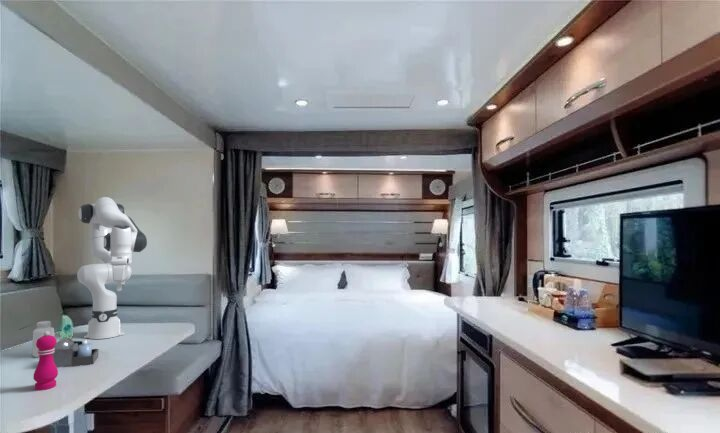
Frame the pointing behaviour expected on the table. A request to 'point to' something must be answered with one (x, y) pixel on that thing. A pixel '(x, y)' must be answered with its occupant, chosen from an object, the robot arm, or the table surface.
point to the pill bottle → (41, 334)
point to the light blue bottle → (84, 349)
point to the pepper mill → (45, 363)
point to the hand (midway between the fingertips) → (120, 289)
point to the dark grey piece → (71, 354)
